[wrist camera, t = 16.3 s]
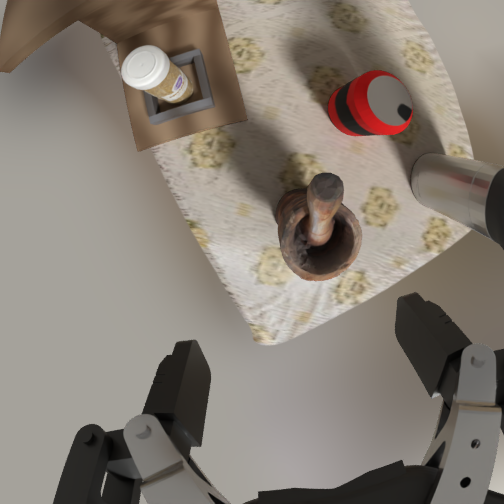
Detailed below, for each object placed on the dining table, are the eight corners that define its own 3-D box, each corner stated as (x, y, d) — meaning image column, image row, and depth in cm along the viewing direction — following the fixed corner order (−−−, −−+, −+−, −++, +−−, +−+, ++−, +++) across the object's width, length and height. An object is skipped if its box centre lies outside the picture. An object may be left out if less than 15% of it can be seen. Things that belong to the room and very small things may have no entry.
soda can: (361, 146, 35) (403, 148, 24) (318, 118, 33) (346, 106, 22) (382, 106, 32) (427, 96, 21) (340, 77, 31) (374, 54, 20)
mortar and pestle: (246, 187, 37) (242, 230, 19) (297, 153, 35) (345, 160, 17) (292, 250, 41) (322, 335, 22) (339, 218, 39) (405, 281, 20)
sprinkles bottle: (191, 105, 32) (159, 85, 19) (160, 105, 32) (115, 88, 19) (196, 75, 30) (168, 42, 18) (165, 75, 30) (124, 46, 17)
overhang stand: (216, 1, 26) (183, -112, 2) (247, 119, 34) (239, 65, 10) (118, 36, 27) (14, -24, 4) (140, 151, 35) (5, 174, 11)
